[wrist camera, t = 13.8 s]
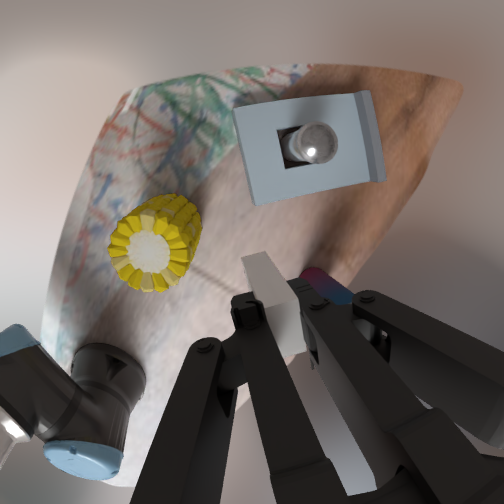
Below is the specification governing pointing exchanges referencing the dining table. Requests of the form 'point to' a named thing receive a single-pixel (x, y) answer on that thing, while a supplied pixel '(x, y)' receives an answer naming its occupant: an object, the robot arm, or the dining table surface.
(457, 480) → the robot arm
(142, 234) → the food
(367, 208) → the dining table surface
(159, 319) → the dining table surface
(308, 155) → the silver metal cylinder
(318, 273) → the cup
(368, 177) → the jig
